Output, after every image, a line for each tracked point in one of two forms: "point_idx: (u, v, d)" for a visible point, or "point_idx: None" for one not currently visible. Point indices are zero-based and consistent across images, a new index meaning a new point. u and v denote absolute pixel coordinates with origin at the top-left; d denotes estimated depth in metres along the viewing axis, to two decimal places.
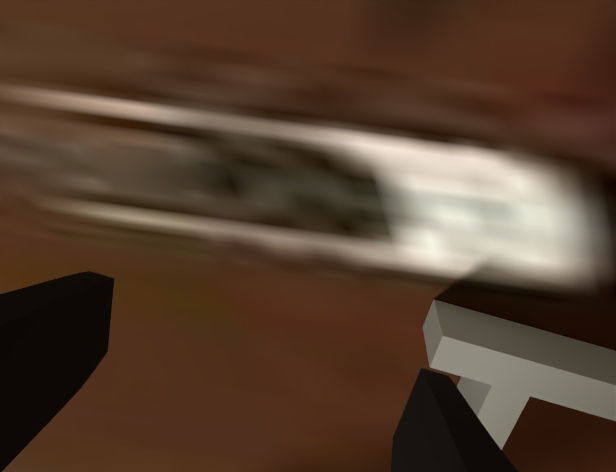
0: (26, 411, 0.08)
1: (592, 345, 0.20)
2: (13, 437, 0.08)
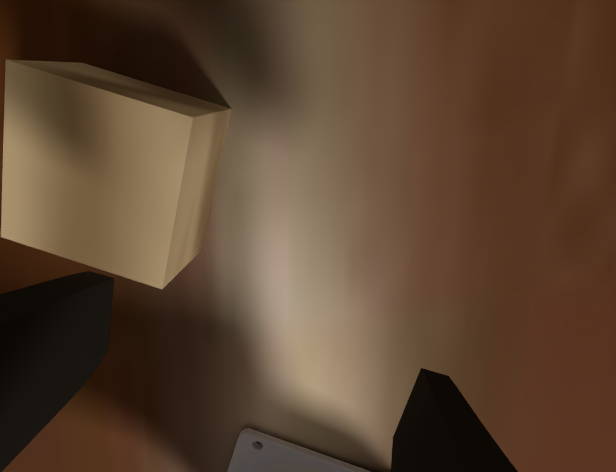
0: (26, 411, 0.08)
1: None
2: (13, 437, 0.08)
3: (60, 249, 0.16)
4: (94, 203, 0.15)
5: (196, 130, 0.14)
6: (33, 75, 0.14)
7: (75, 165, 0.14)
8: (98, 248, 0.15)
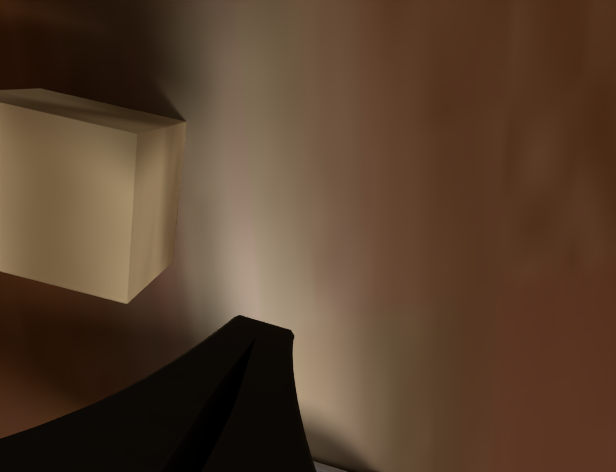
0: None
1: None
2: None
3: (26, 272, 0.16)
4: (53, 224, 0.15)
5: (143, 146, 0.14)
6: None
7: (31, 188, 0.15)
8: (62, 268, 0.16)
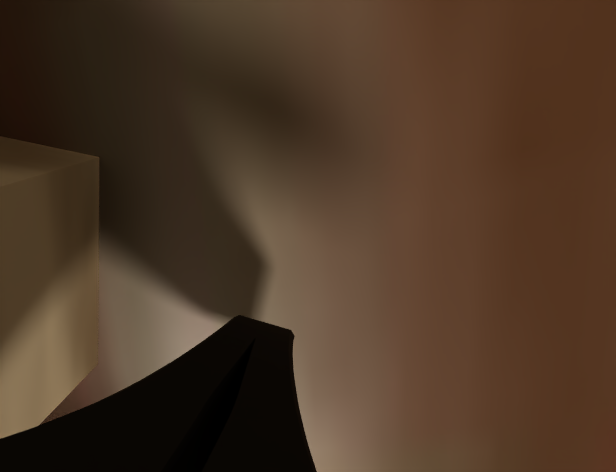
0: None
1: None
2: None
3: None
4: None
5: None
6: None
7: None
8: None
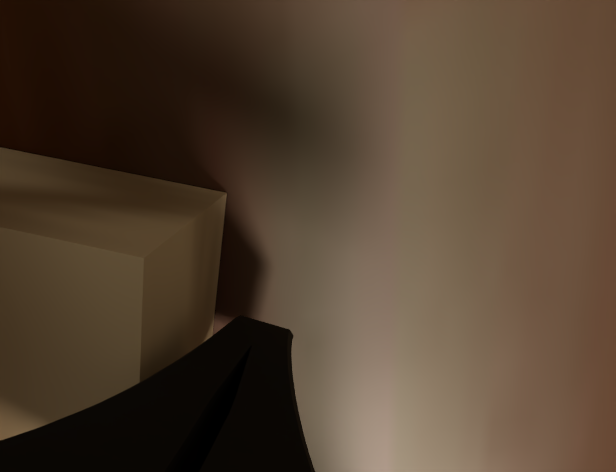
0: None
1: None
2: None
3: None
4: None
5: (157, 271, 0.07)
6: None
7: None
8: None
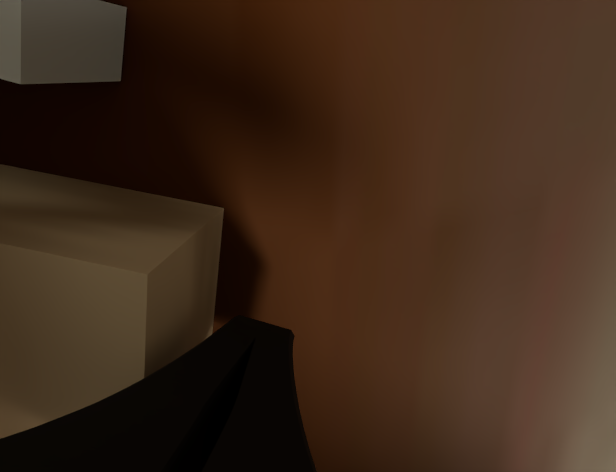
0: None
1: None
2: None
3: None
4: (6, 416, 0.09)
5: (160, 286, 0.08)
6: None
7: None
8: None
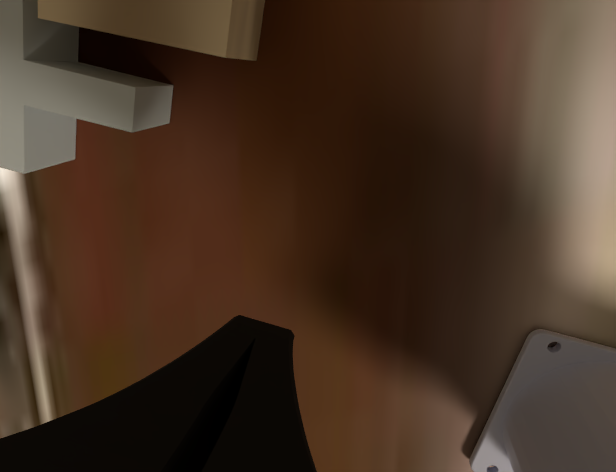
0: None
1: None
2: None
3: (106, 23, 0.14)
4: None
5: None
6: None
7: None
8: (150, 13, 0.13)
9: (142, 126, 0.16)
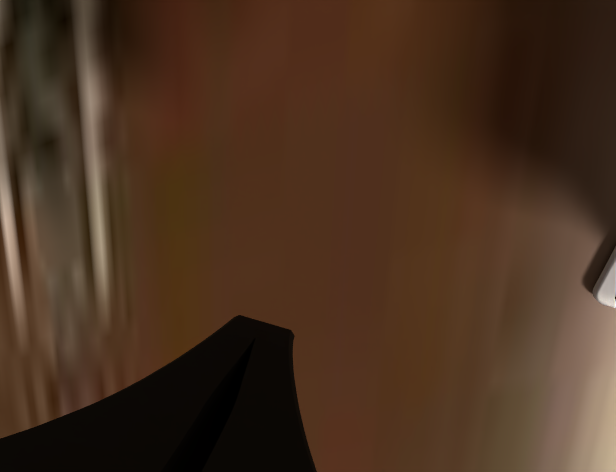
0: None
1: None
2: None
3: None
4: None
5: None
6: None
7: None
8: None
9: None
